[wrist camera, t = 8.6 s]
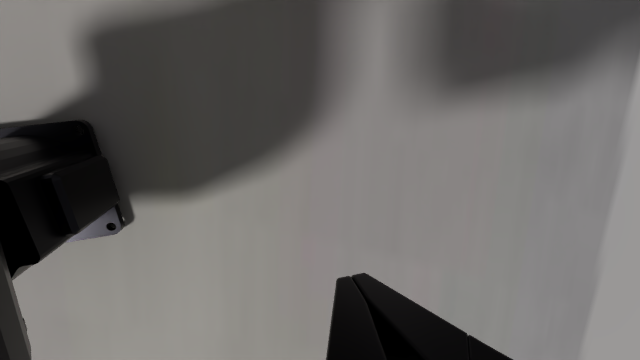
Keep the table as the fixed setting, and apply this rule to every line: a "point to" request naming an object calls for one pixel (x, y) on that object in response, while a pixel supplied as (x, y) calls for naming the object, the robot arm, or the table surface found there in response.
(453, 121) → the table surface
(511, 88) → the table surface
